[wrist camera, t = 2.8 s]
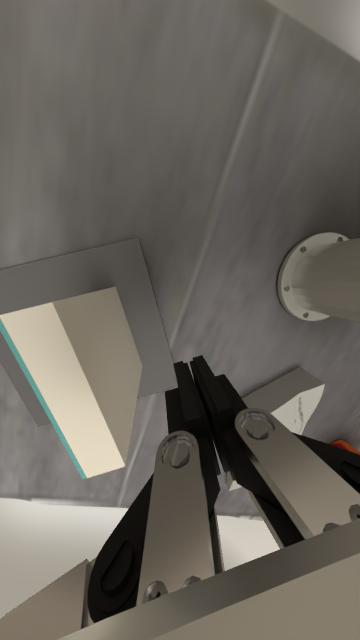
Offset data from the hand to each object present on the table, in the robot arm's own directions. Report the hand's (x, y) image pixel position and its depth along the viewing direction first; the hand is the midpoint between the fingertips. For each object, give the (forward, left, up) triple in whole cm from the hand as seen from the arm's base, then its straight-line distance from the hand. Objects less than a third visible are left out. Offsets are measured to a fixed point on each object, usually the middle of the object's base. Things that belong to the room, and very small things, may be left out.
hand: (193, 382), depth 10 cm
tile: (+8, 0, -15) cm, 17 cm away
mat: (+13, 0, -16) cm, 20 cm away
